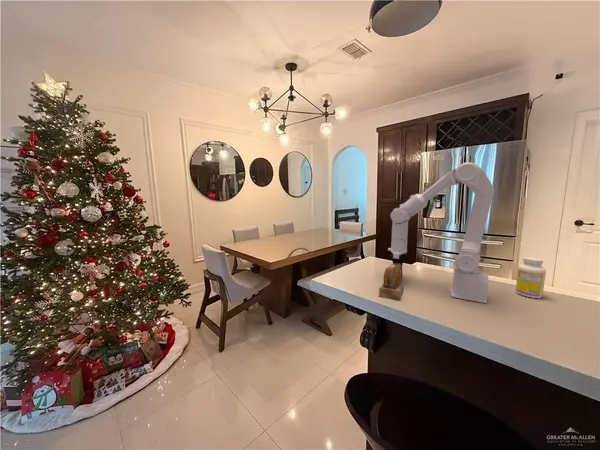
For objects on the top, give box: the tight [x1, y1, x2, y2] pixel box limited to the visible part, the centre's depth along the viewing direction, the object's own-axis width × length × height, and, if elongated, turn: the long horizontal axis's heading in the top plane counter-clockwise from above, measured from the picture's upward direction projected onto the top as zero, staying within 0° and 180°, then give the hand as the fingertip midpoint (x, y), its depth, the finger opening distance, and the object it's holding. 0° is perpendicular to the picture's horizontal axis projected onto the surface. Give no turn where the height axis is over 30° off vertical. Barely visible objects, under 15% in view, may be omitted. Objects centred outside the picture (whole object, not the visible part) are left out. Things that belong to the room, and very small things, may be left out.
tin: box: [383, 262, 403, 290], centre depth 87 cm, size 15×3×8 cm, turn 142°
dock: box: [378, 282, 405, 301], centre depth 83 cm, size 7×10×3 cm, turn 150°
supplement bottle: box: [515, 256, 547, 299], centre depth 80 cm, size 7×7×13 cm
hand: (397, 271), depth 94 cm, fingers closed
